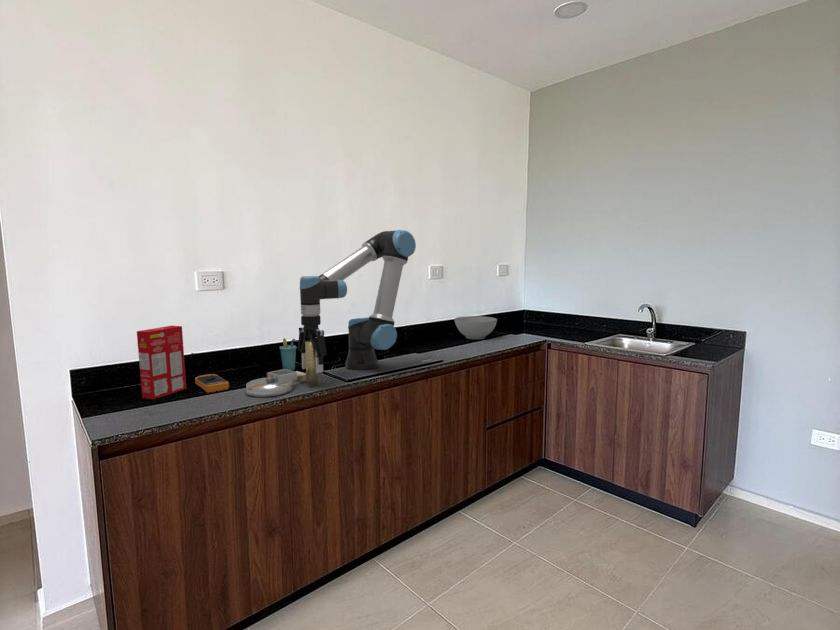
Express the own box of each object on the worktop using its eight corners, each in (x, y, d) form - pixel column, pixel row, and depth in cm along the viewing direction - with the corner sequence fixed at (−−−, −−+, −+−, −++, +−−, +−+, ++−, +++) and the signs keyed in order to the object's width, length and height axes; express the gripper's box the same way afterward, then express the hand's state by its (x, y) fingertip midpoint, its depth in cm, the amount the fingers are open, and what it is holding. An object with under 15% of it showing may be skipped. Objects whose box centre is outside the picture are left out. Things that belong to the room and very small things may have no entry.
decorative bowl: (474, 332, 310) (474, 315, 309) (505, 338, 290) (505, 319, 289) (445, 337, 293) (445, 318, 292) (476, 343, 273) (476, 323, 271)
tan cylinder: (314, 382, 189) (313, 339, 187) (321, 384, 186) (320, 341, 184) (304, 385, 186) (302, 341, 183) (311, 387, 182) (310, 342, 180)
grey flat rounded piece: (280, 381, 190) (279, 367, 189) (303, 388, 179) (303, 373, 178) (238, 390, 177) (237, 375, 176) (261, 399, 166) (260, 383, 165)
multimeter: (215, 380, 194) (215, 372, 193) (230, 390, 180) (229, 381, 180) (194, 384, 188) (193, 376, 188) (206, 394, 175) (206, 385, 174)
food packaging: (176, 387, 183) (171, 325, 179) (186, 388, 181) (181, 326, 178) (142, 398, 169) (136, 331, 166) (152, 399, 167) (147, 332, 164)
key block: (297, 377, 196) (297, 371, 196) (308, 381, 191) (308, 374, 191) (280, 381, 191) (280, 374, 190) (291, 385, 185) (291, 378, 185)
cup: (306, 370, 209) (304, 338, 207) (291, 373, 203) (289, 340, 201) (289, 365, 218) (287, 334, 216) (274, 368, 213) (272, 336, 211)
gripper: (287, 313, 187) (289, 367, 189) (319, 318, 172) (321, 376, 175) (302, 312, 192) (304, 364, 195) (335, 316, 178) (336, 373, 181)
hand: (312, 370), depth 185 cm, fingers open, 9 cm apart
